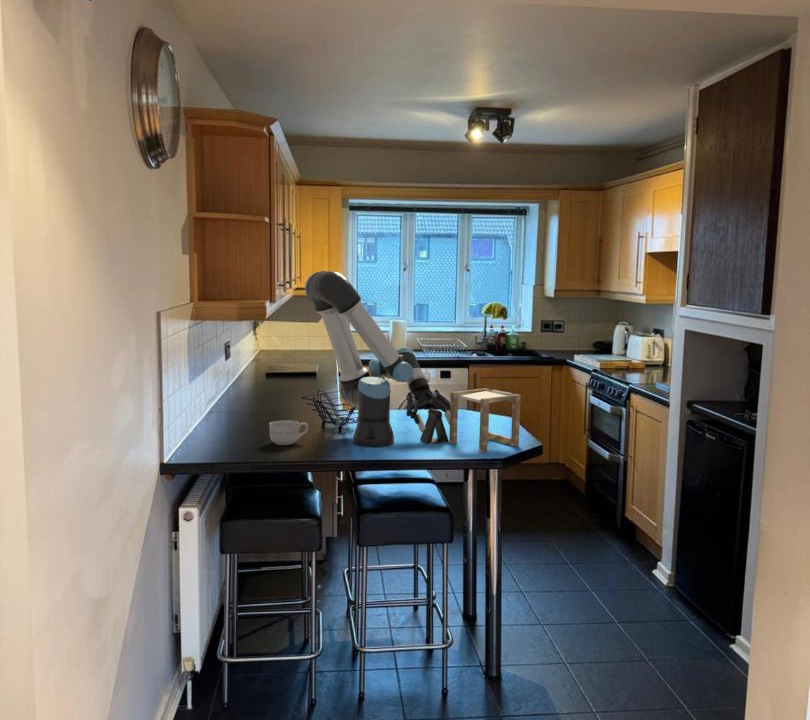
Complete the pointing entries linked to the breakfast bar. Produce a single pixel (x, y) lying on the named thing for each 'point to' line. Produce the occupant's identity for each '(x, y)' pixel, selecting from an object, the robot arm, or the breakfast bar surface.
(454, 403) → the trapdoor frame
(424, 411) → the breakfast bar surface
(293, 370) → the breakfast bar surface
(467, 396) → the trapdoor
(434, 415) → the phone stand
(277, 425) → the teacup
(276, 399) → the breakfast bar surface
